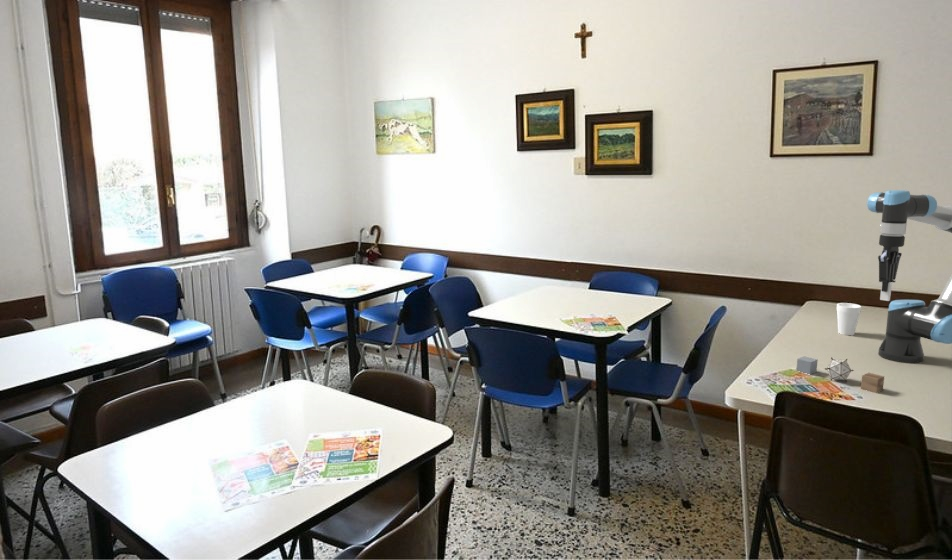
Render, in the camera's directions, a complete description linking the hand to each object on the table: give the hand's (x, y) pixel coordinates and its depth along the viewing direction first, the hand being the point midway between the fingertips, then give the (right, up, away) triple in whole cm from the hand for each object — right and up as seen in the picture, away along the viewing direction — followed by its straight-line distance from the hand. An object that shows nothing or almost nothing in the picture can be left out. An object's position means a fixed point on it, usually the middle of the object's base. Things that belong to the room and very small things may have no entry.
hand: (884, 300), depth 235 cm
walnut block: (-9, -31, -8) cm, 33 cm away
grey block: (-23, -27, +10) cm, 37 cm away
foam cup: (+19, -17, +59) cm, 64 cm away
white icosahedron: (-16, -29, +1) cm, 33 cm away
